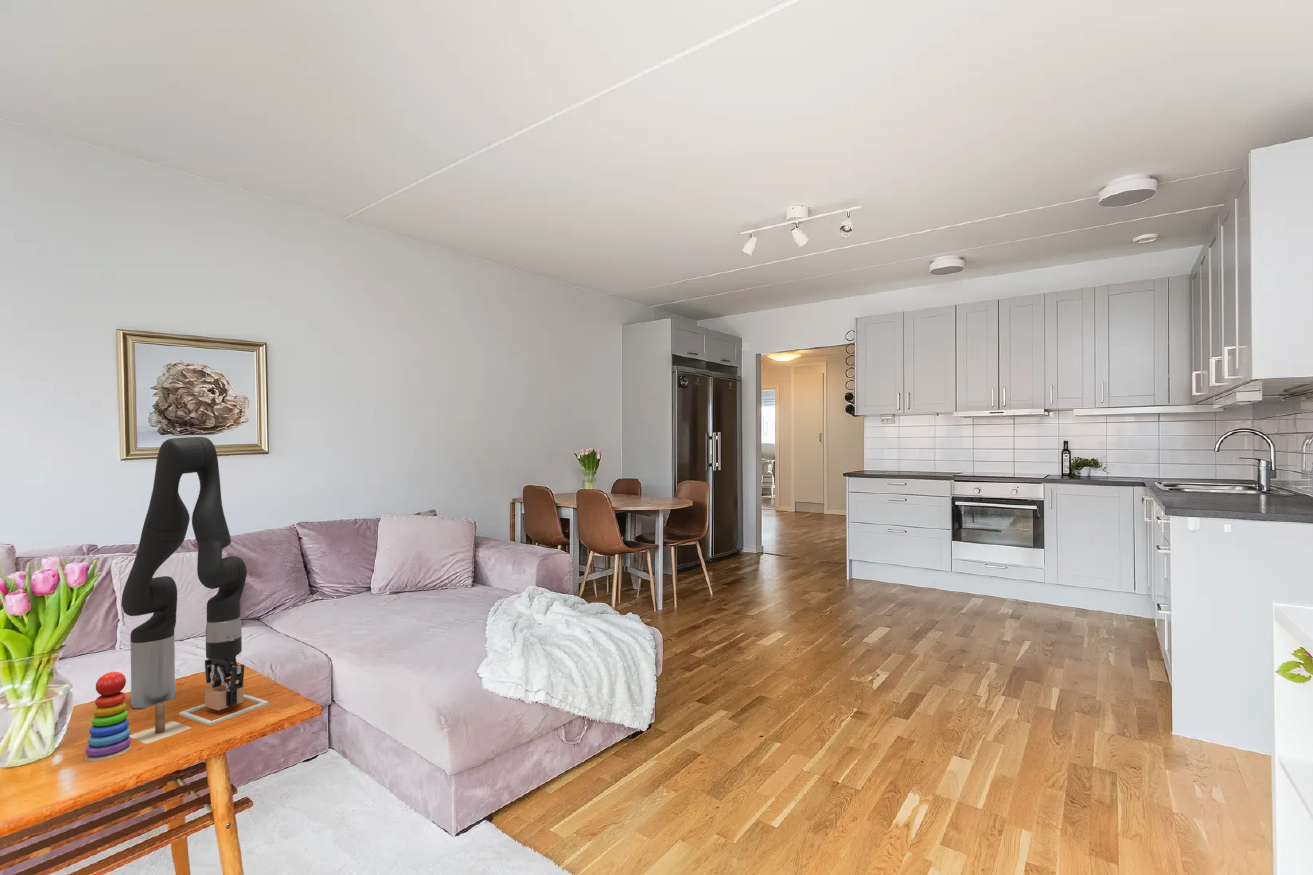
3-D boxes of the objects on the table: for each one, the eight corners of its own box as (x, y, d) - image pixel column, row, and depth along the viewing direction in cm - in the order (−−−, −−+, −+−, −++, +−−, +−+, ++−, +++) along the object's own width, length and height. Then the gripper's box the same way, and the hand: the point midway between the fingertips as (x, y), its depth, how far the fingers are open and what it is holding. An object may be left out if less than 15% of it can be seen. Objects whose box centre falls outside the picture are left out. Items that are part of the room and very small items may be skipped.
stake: (127, 742, 144) (127, 707, 144) (172, 726, 152) (172, 693, 152) (146, 750, 139) (146, 715, 140) (191, 733, 147) (191, 700, 148)
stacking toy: (104, 769, 132) (103, 680, 132) (74, 766, 133) (73, 678, 133) (141, 751, 139) (141, 667, 140) (113, 748, 141) (112, 665, 141)
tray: (179, 720, 155) (178, 712, 155) (238, 699, 167) (238, 692, 167) (209, 731, 148) (209, 723, 148) (269, 709, 161) (268, 701, 161)
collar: (205, 706, 157) (204, 690, 157) (234, 695, 163) (234, 680, 163) (218, 710, 154) (217, 694, 154) (247, 700, 160) (247, 684, 160)
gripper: (192, 637, 158) (193, 703, 158) (223, 644, 151) (224, 713, 151) (224, 629, 165) (225, 692, 165) (255, 636, 158) (256, 702, 158)
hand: (224, 702), depth 158 cm, fingers closed on collar, 6 cm apart
